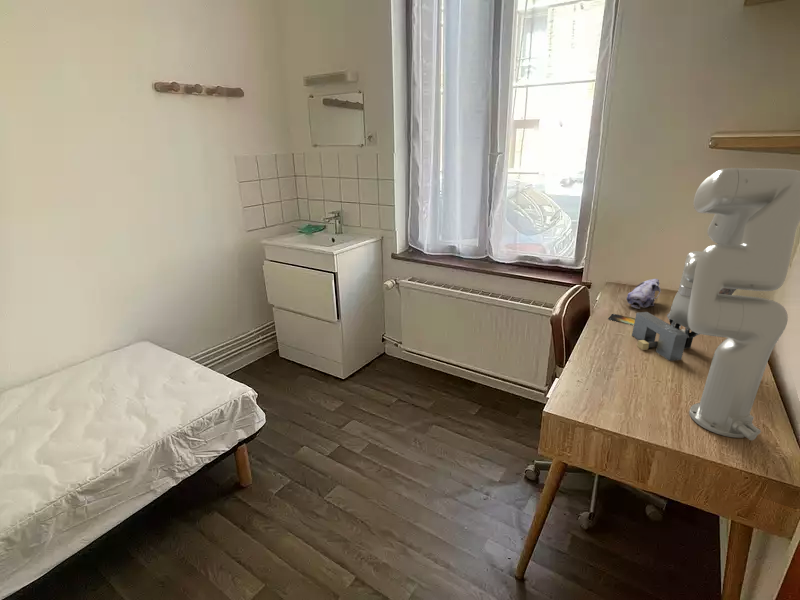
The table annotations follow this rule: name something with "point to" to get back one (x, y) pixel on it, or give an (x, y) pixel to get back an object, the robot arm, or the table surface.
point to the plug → (649, 343)
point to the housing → (669, 338)
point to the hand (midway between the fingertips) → (679, 343)
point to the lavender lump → (644, 294)
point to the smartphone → (622, 319)
